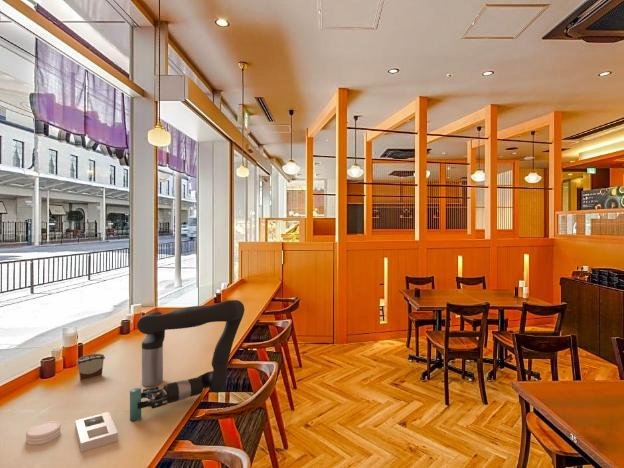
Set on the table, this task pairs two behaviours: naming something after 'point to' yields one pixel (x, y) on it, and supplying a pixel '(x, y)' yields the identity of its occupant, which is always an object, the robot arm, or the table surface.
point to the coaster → (43, 433)
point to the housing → (95, 431)
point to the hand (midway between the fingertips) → (134, 401)
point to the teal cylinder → (135, 404)
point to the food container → (90, 366)
